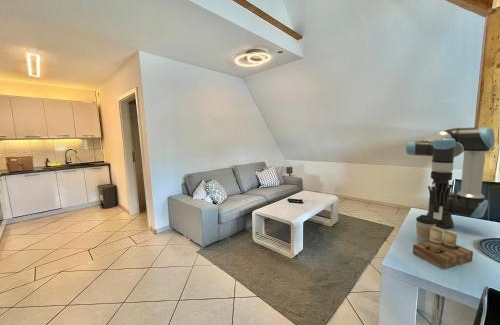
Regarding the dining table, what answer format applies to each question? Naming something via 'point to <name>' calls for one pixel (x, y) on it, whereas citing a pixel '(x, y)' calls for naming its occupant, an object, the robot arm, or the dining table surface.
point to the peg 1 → (435, 239)
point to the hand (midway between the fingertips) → (437, 218)
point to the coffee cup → (424, 227)
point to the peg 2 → (449, 239)
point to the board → (443, 255)
